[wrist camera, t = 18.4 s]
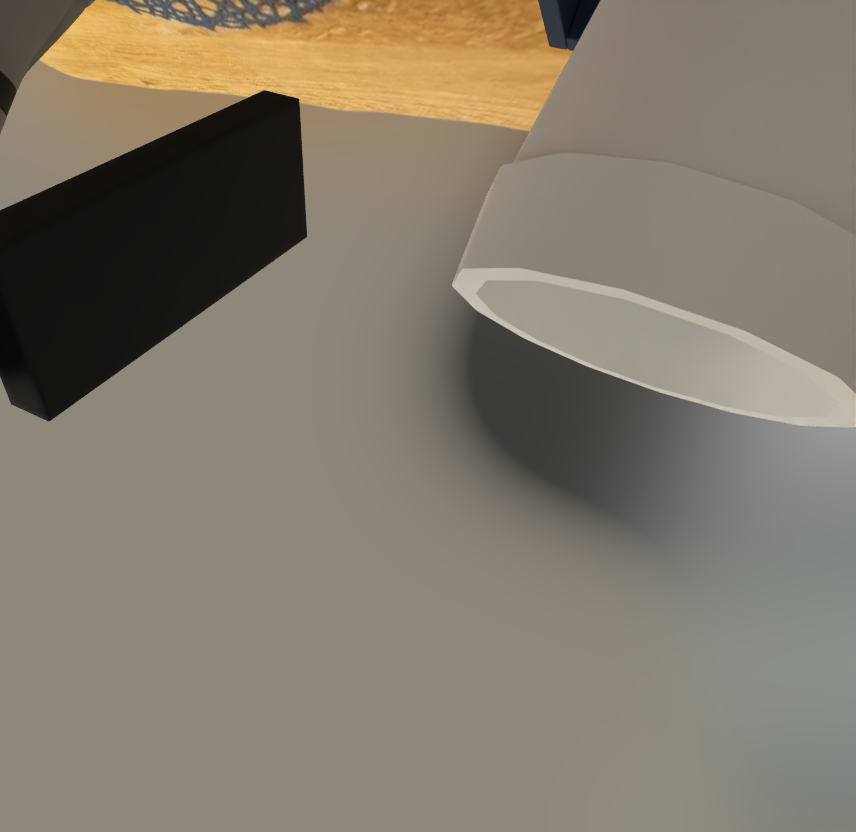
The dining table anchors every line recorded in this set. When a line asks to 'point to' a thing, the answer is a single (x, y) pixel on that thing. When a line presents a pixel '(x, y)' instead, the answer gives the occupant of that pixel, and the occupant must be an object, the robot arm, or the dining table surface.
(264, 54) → the dining table surface
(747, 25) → the foam cup
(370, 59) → the dining table surface
